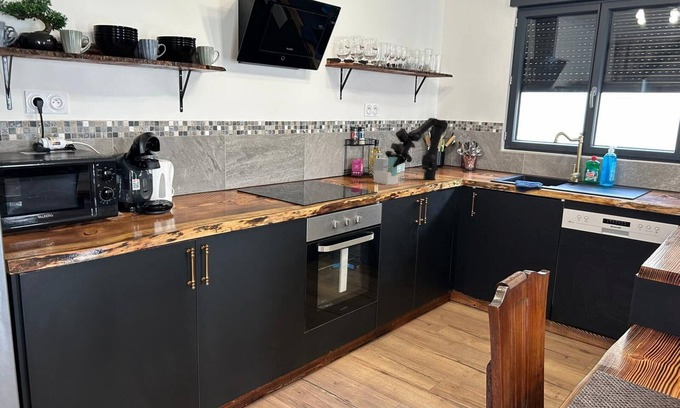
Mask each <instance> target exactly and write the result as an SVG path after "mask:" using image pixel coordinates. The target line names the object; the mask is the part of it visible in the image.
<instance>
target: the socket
mask: <svg viewBox="0 0 680 408" xmlns="http://www.w3.org/2000/svg"><path fill="white" fill-rule="evenodd" d="M391 174H392V173H391V172H385V171H379V170H375V171H374V178H373V183H377V184H380V185H382V184H383V185H386V186H387V185H394V184H395V185H396V184H399V178H400V177H399V175H397V176H391Z"/></svg>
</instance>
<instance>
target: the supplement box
mask: <svg viewBox="0 0 680 408" xmlns="http://www.w3.org/2000/svg"><path fill="white" fill-rule="evenodd" d="M373 160H374V165H373V166H374V167H373V168H374V169H373V176H372V178H373V179H374V171H375V170H379V171H385V172H386V170H388V157H387V158H386V157H385V158H384V157H383V158H381V157H377V158H376V157H375V158H373Z"/></svg>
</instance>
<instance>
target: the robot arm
mask: <svg viewBox="0 0 680 408" xmlns="http://www.w3.org/2000/svg"><path fill="white" fill-rule="evenodd" d="M448 126H449V124H448V122H447V120H446V119H437V118H435V117H429V118H428V119H427V120H426V121H424V123H422V124H421V125H420V126H419V127H417V128H416V129H415V128H414V129H413V130H410V131H409V132H407V130H406V128H401V129H399V130H397V131H396V133H395V137H396V138H397V139H398V141H399V142H400V143H395V142H392V143H391V146H390V149H391V150H386V151H385V152H384V154H385V155H386V157H387V158H388V157H396V158H398V159H397V160H396V162H395V163H394V165H393V167H396V166H397V167H398V166H400V165H402V164H405V163H412V160H413V157H412V156H411V154H410V152H409V151H410V150H411V149H412V148H413V149H414V148H416V145H415V143H414V142H419V141H420V140H421V139H422V137H423V134H425V133H426V132H427V131H429V130H430V128H432V127H433V136H432V138H431V142H430V144H429V148H428V151H427V153H426V154H423V156H422V159H421V165H422V167H421V168H422V170H424V171H423V180H426V181H436V180H437V179H436V171H438V170H439V167H438V165H437V163H436V162H437V158H436V153H437V150H438V148H439V144H440V141H441V138H442V135H443V134H444V133H445V132H446V131H447V128H448Z"/></svg>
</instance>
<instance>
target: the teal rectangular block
mask: <svg viewBox="0 0 680 408" xmlns="http://www.w3.org/2000/svg"><path fill="white" fill-rule="evenodd" d="M387 159H388V170H386V172H391V173H392V174H391V176H398V166H396V167H393V165H394V163H395V162H396V160H397V159H398V158H396V157H387Z"/></svg>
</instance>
